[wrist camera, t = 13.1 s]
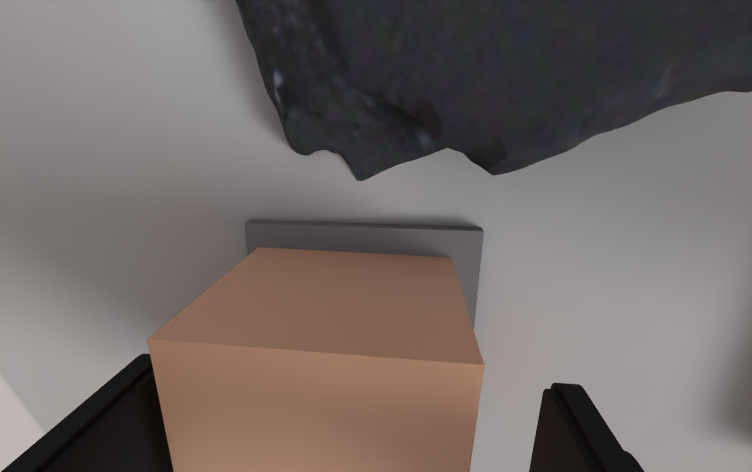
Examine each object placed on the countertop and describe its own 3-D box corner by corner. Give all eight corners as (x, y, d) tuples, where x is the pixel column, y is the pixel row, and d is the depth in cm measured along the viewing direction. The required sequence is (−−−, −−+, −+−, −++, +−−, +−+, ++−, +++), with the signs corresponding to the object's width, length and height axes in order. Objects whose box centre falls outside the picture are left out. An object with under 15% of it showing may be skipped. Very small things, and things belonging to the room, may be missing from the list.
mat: (461, 426, 13) (462, 435, 13) (270, 411, 14) (266, 419, 13) (481, 227, 11) (483, 231, 10) (250, 220, 11) (244, 223, 11)
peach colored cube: (451, 257, 11) (484, 365, 6) (436, 416, 13) (452, 595, 8) (258, 247, 11) (147, 338, 7) (271, 401, 13) (191, 561, 8)
